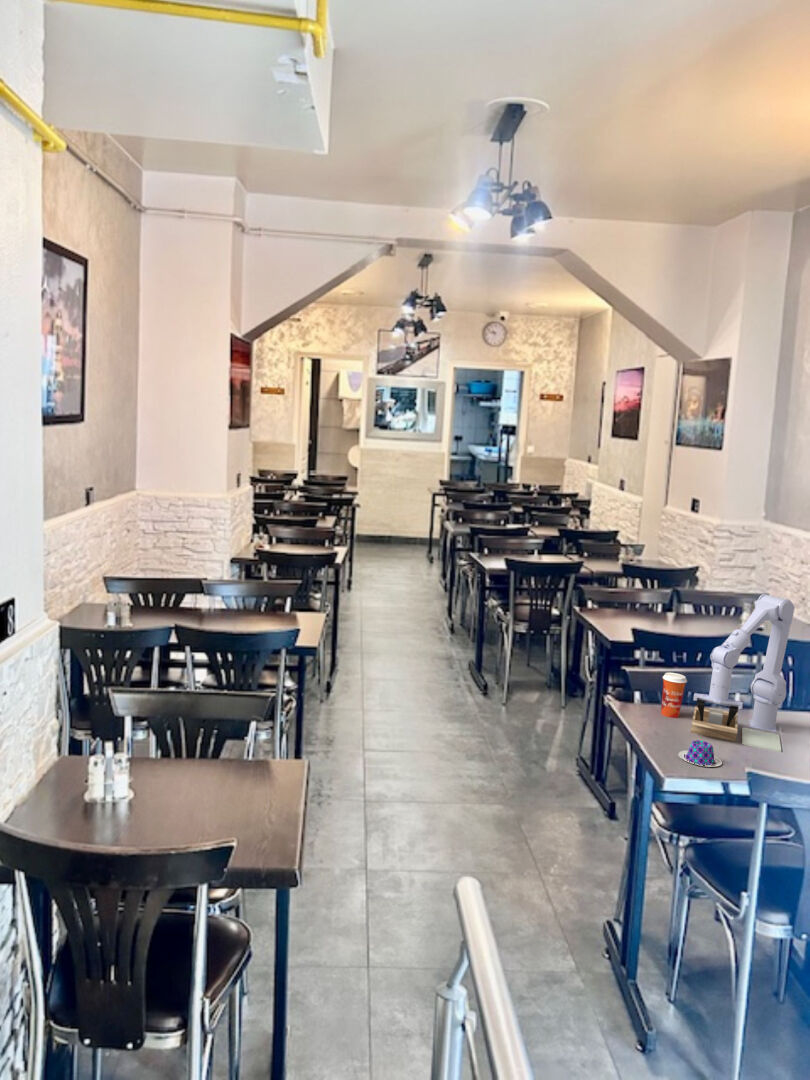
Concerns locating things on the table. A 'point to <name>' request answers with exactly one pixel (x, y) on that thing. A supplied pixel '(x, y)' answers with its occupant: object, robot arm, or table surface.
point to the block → (715, 716)
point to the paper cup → (672, 694)
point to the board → (761, 739)
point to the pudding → (700, 754)
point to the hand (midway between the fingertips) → (714, 726)
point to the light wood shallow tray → (714, 726)
